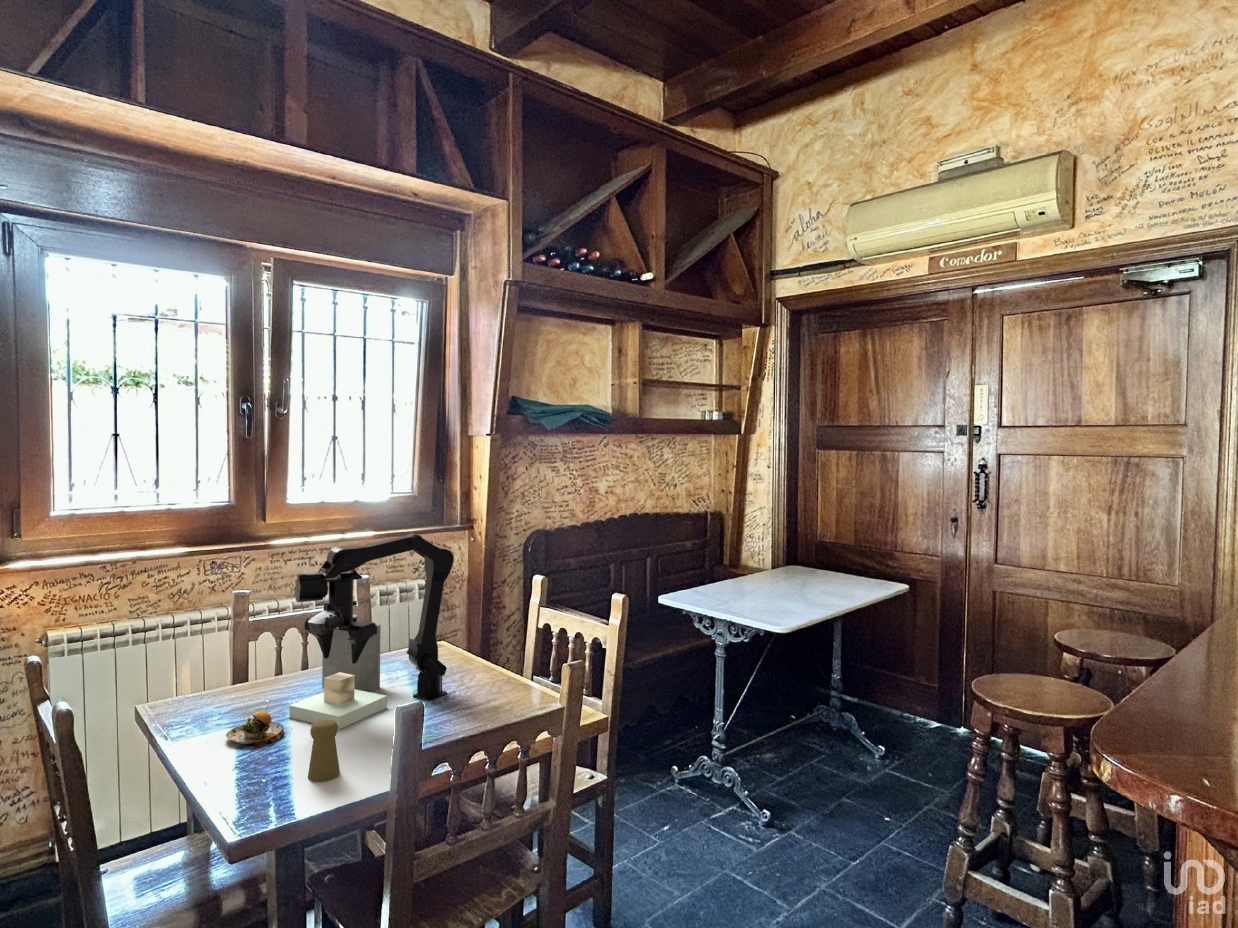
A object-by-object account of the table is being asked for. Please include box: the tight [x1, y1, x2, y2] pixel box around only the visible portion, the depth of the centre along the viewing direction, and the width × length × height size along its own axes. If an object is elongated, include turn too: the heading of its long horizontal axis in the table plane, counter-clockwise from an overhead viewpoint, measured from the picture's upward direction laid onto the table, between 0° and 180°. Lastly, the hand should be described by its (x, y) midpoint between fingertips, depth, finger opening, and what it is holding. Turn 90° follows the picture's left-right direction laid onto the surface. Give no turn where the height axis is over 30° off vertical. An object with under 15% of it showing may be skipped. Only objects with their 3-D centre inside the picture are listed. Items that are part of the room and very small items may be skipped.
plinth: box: [288, 689, 388, 730], centre depth 183 cm, size 16×16×3 cm
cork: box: [307, 719, 341, 783], centre depth 149 cm, size 6×6×11 cm
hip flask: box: [321, 614, 381, 691], centre depth 201 cm, size 16×4×20 cm, turn 86°
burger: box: [225, 705, 285, 748], centre depth 167 cm, size 12×12×8 cm
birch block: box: [323, 672, 355, 705], centre depth 183 cm, size 5×5×6 cm
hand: (340, 660), depth 183 cm, fingers open, 9 cm apart
